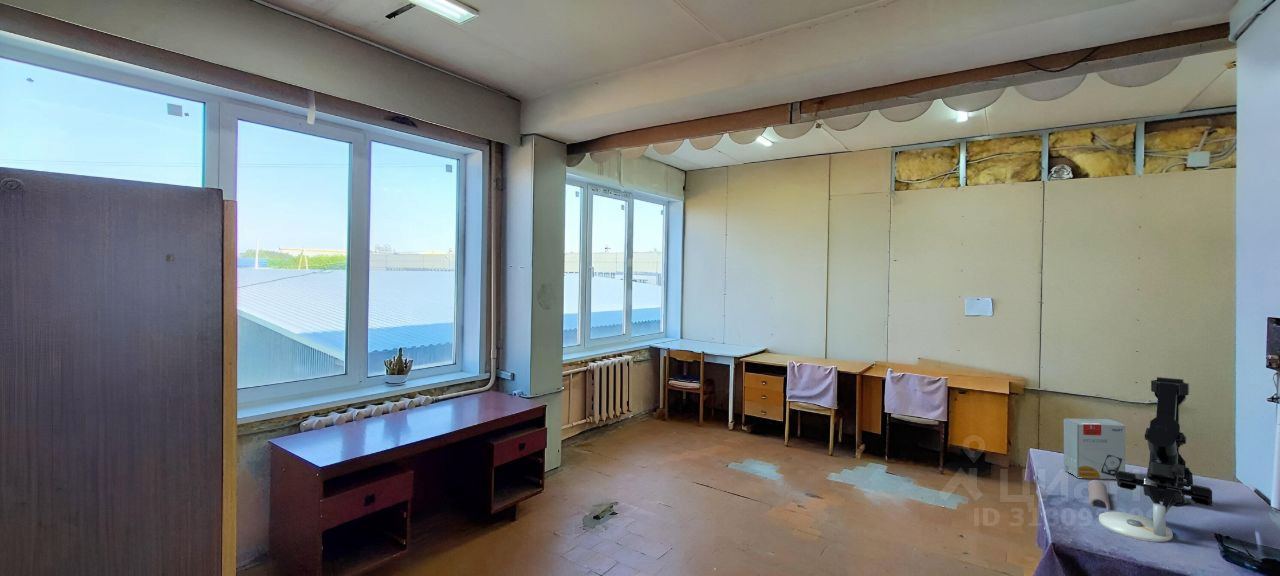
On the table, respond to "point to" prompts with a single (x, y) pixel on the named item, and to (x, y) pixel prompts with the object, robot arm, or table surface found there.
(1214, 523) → the table surface
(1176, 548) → the table surface
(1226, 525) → the table surface
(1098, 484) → the coil
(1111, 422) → the hard drive box
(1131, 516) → the desk lamp base
